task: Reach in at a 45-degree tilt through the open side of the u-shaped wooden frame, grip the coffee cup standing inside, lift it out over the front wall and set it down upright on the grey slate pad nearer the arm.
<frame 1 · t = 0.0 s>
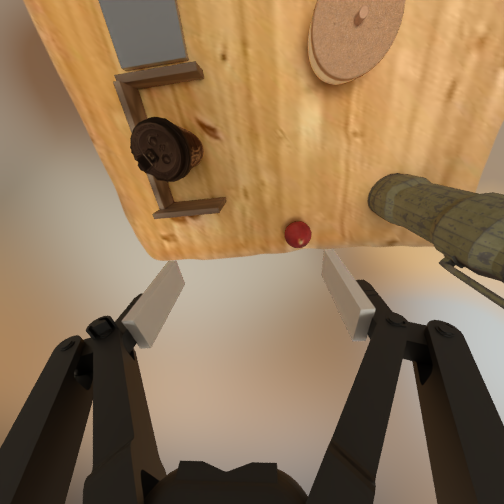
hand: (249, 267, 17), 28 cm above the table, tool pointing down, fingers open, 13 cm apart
slate pad: (143, 16, 28), on the table
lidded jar: (334, 49, 29), on the table
thermos: (388, 194, 40), on the table
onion: (294, 227, 45), on the table
coffee cup: (187, 149, 37), on the table
u-shaped wooden frame: (184, 149, 37), on the table
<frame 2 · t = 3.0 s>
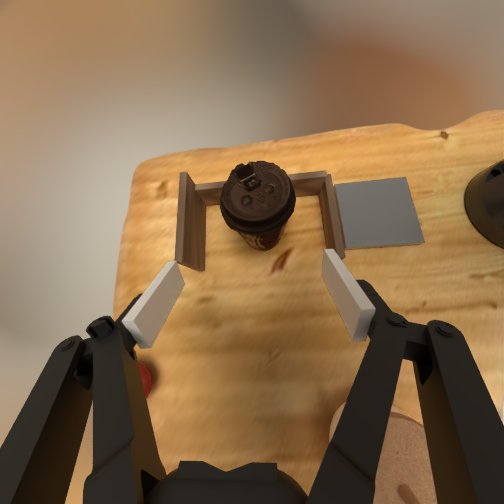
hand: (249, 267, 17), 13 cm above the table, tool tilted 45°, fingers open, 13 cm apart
slate pad: (372, 214, 30), on the table
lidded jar: (361, 428, 24), on the table
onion: (145, 376, 28), on the table
coffee cup: (262, 232, 31), on the table
u-shaped wooden frame: (262, 229, 31), on the table
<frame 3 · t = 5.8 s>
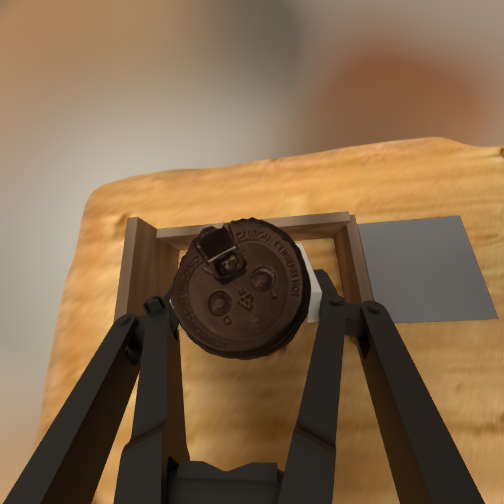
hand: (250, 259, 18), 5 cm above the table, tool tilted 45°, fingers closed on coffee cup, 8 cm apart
slate pad: (413, 268, 21), on the table
coffee cup: (256, 291, 22), on the table, touching gripper
u-shaped wooden frame: (256, 287, 22), on the table
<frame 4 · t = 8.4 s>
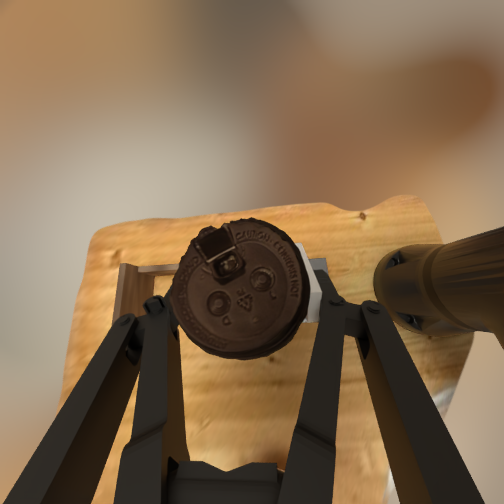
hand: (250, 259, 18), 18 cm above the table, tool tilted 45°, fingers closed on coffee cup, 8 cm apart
coffee cup: (255, 291, 22), point 13 cm above the table, touching gripper
u-shaped wooden frame: (203, 301, 35), on the table
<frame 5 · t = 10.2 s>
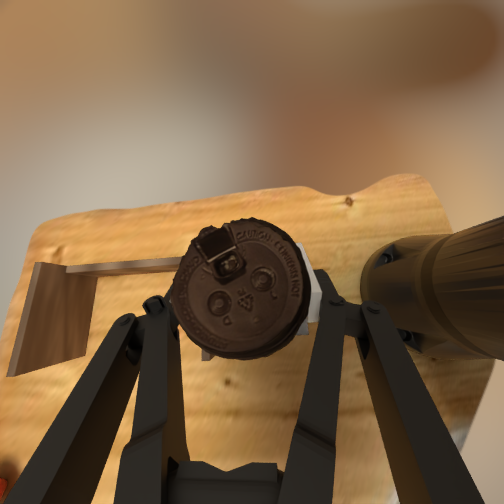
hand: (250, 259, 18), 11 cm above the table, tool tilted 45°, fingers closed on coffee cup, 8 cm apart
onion: (7, 482, 25), on the table
coffee cup: (256, 291, 22), point 5 cm above the table, touching gripper
u-shaped wooden frame: (150, 307, 29), on the table
when the fingers open (7 cm above the table, at t = 11.4 s): coffee cup stays where it is, resting on slate pad.
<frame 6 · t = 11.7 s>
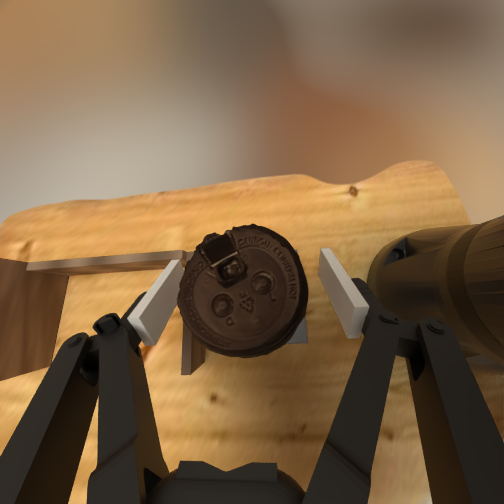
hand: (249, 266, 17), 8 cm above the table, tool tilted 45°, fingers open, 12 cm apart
coffee cup: (257, 292, 23), point 1 cm above the table, touching slate pad
u-shaped wooden frame: (127, 311, 25), on the table
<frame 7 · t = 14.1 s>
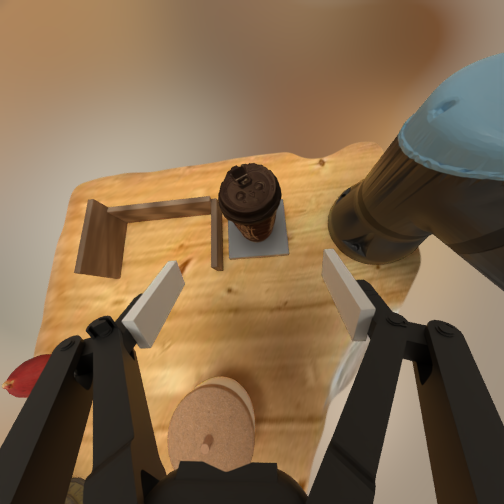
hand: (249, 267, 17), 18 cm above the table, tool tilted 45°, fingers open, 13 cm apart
slate pad: (257, 230, 36), on the table
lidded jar: (225, 403, 30), on the table
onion: (64, 366, 34), on the table
coffee cup: (256, 226, 35), point 1 cm above the table, touching slate pad
u-shaped wooden frame: (169, 242, 38), on the table
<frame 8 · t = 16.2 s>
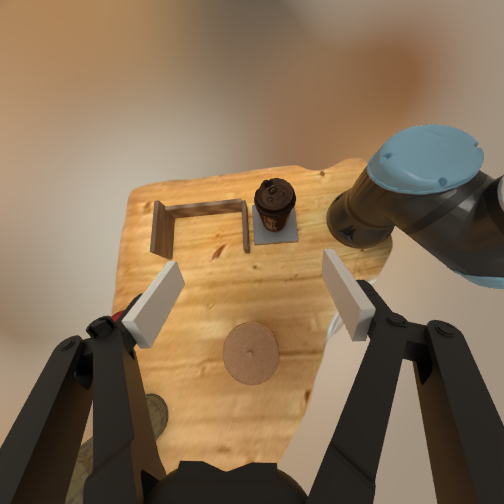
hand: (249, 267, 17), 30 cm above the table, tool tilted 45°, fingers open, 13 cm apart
slate pad: (274, 223, 49), on the table
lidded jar: (254, 343, 43), on the table
thermos: (150, 416, 41), on the table
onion: (135, 321, 47), on the table
coffee cup: (274, 221, 48), point 1 cm above the table, touching slate pad
u-shaped wooden frame: (208, 233, 50), on the table
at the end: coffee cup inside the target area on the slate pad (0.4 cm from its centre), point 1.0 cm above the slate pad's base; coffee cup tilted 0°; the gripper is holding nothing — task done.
